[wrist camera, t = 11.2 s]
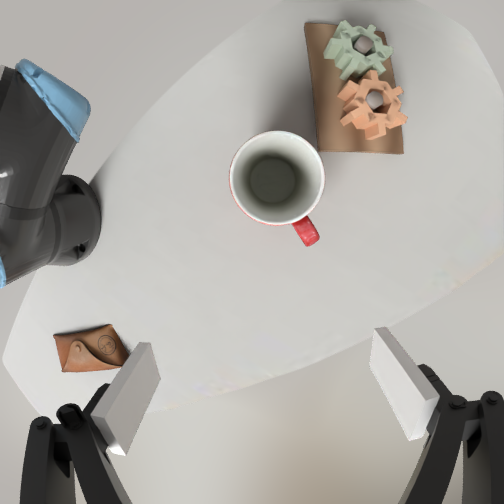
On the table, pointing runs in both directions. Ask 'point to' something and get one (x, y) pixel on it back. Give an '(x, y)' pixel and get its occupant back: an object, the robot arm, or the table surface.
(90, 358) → the sunglasses case
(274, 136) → the mug
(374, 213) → the table surface
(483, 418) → the robot arm
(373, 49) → the gear
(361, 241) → the table surface
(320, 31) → the gear board
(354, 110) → the gear
